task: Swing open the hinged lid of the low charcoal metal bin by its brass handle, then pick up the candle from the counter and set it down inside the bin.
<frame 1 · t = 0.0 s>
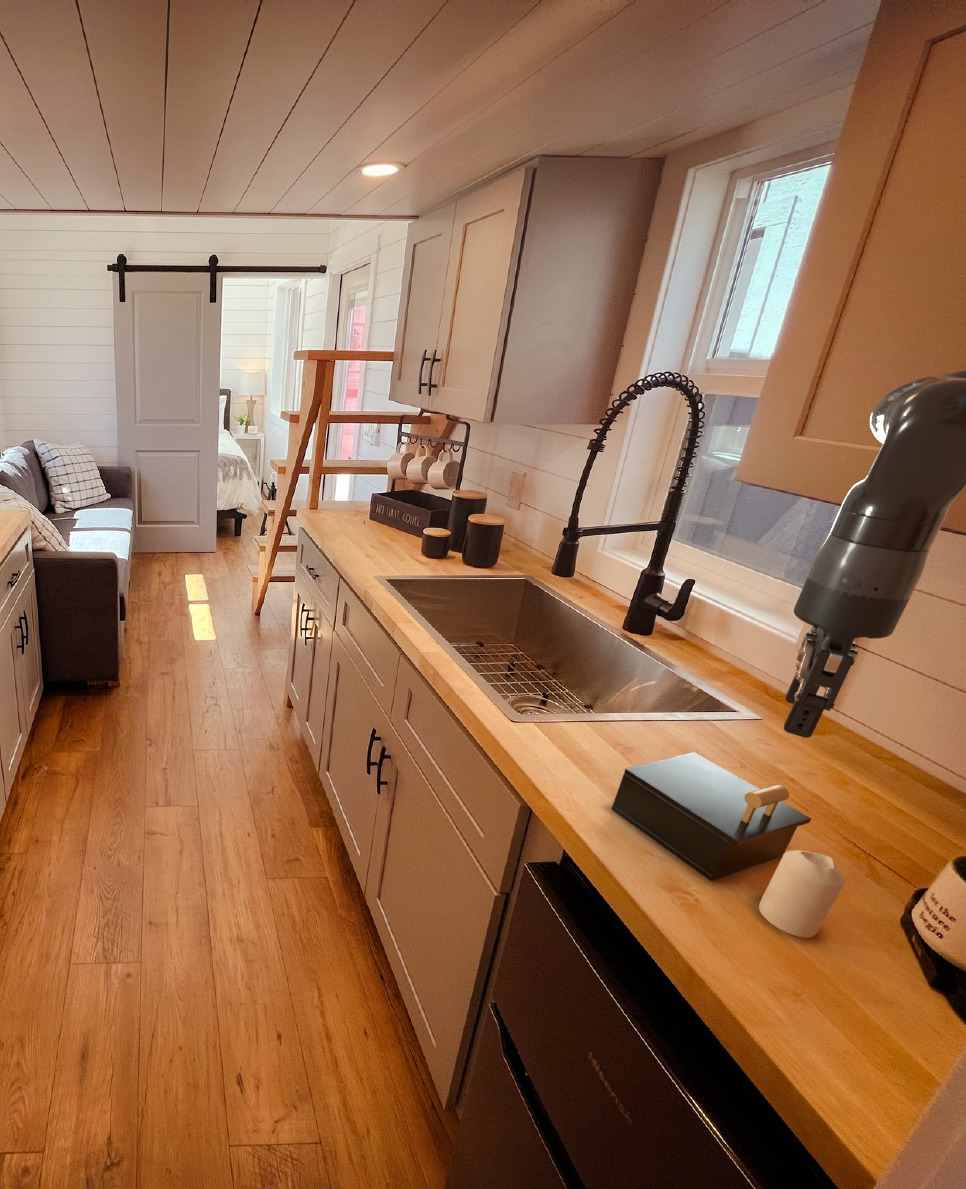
hand: (796, 718, 71), 28 cm above the table, tool pointing down, fingers open, 8 cm apart
candle: (785, 920, 80), on the table
bin lid: (718, 781, 90), point 10 cm above the table, hinge at 0.0°
bread bin: (692, 832, 94), on the table
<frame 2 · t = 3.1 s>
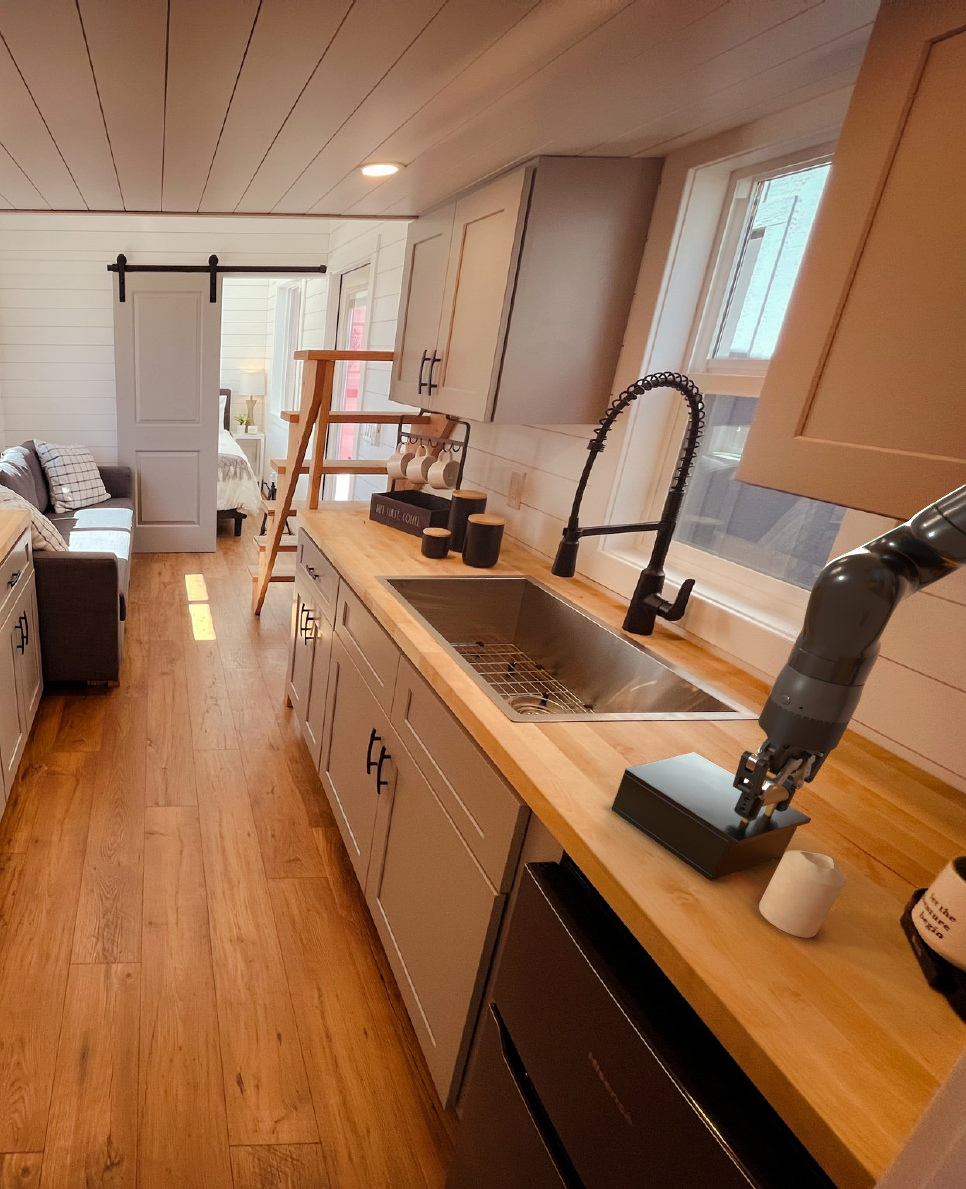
hand: (759, 811, 86), 9 cm above the table, tool pointing down, fingers closed on bin lid, 5 cm apart
bin lid: (718, 781, 90), point 10 cm above the table, hinge at -0.1°, touching gripper
everything else where it was.
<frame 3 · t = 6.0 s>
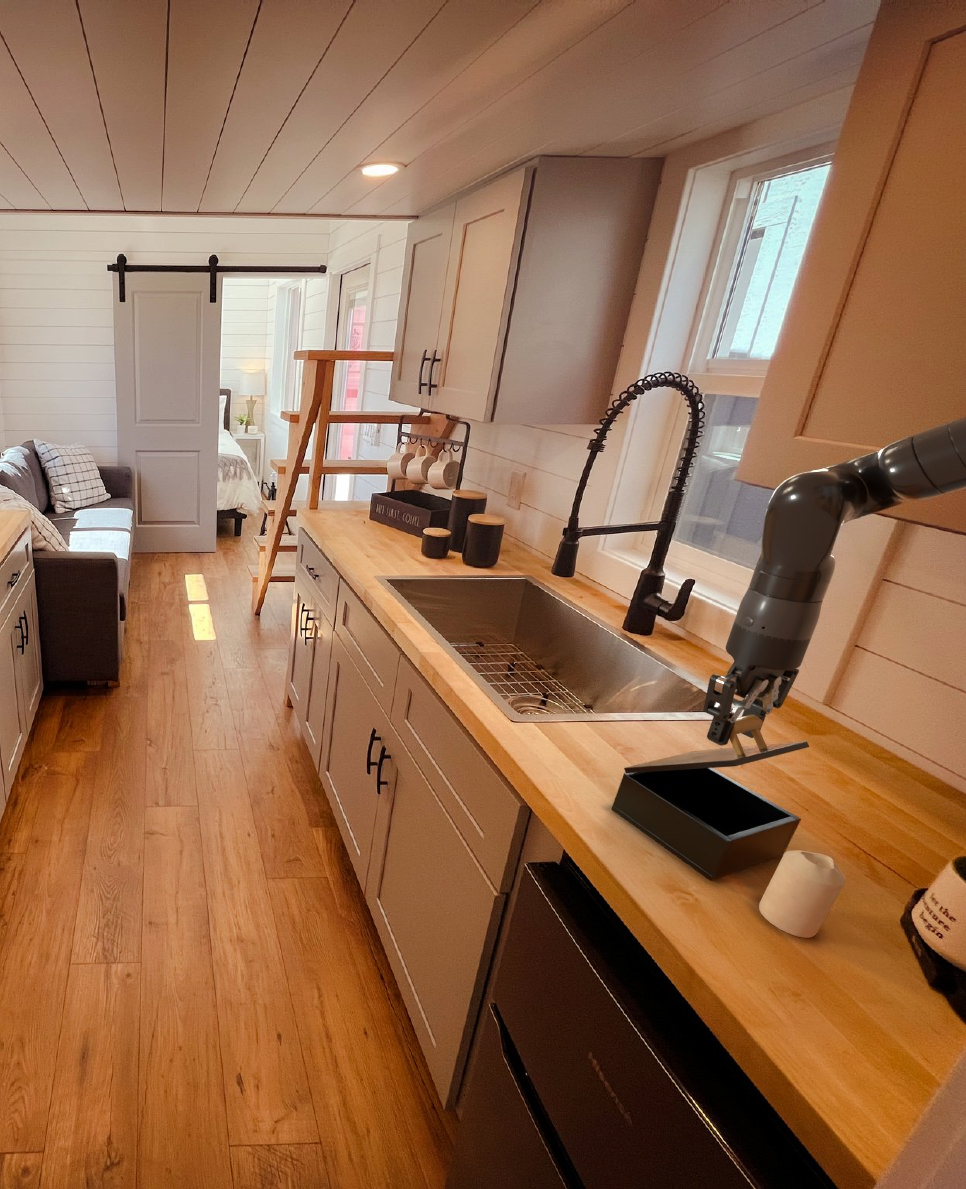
hand: (731, 738, 88), 16 cm above the table, tool pointing down, fingers closed on bin lid, 5 cm apart
bin lid: (705, 741, 91), point 14 cm above the table, hinge at 39.9°, touching gripper
everything else where it was.
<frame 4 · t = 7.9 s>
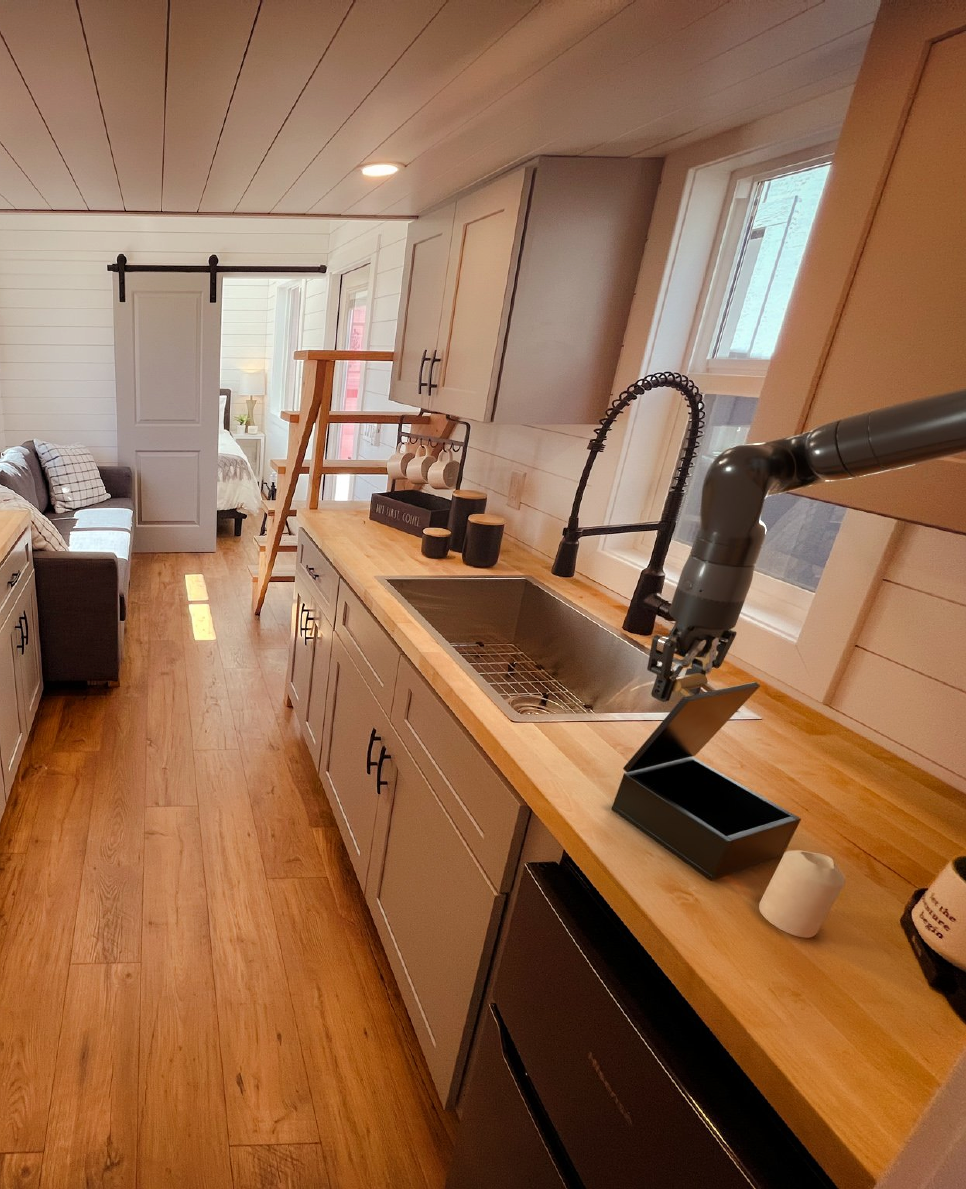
hand: (674, 695, 95), 18 cm above the table, tool pointing down, fingers closed on bin lid, 5 cm apart
bin lid: (675, 716, 95), point 15 cm above the table, hinge at 74.3°, touching gripper
everything else where it was.
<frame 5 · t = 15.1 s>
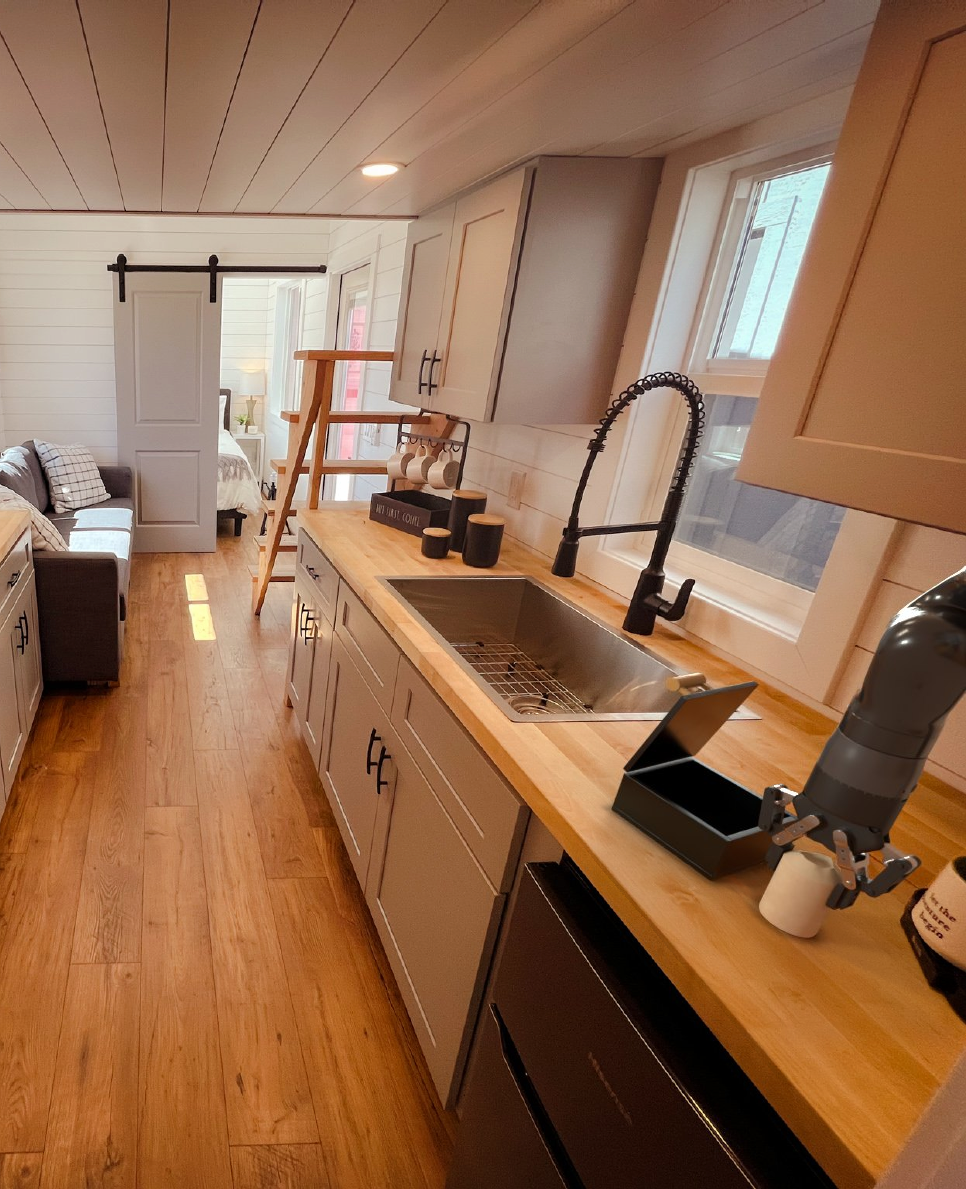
hand: (804, 886, 78), 6 cm above the table, tool pointing down, fingers closed on candle, 5 cm apart
candle: (786, 920, 80), on the table, touching gripper
bin lid: (675, 716, 95), point 15 cm above the table, hinge at 75.1°
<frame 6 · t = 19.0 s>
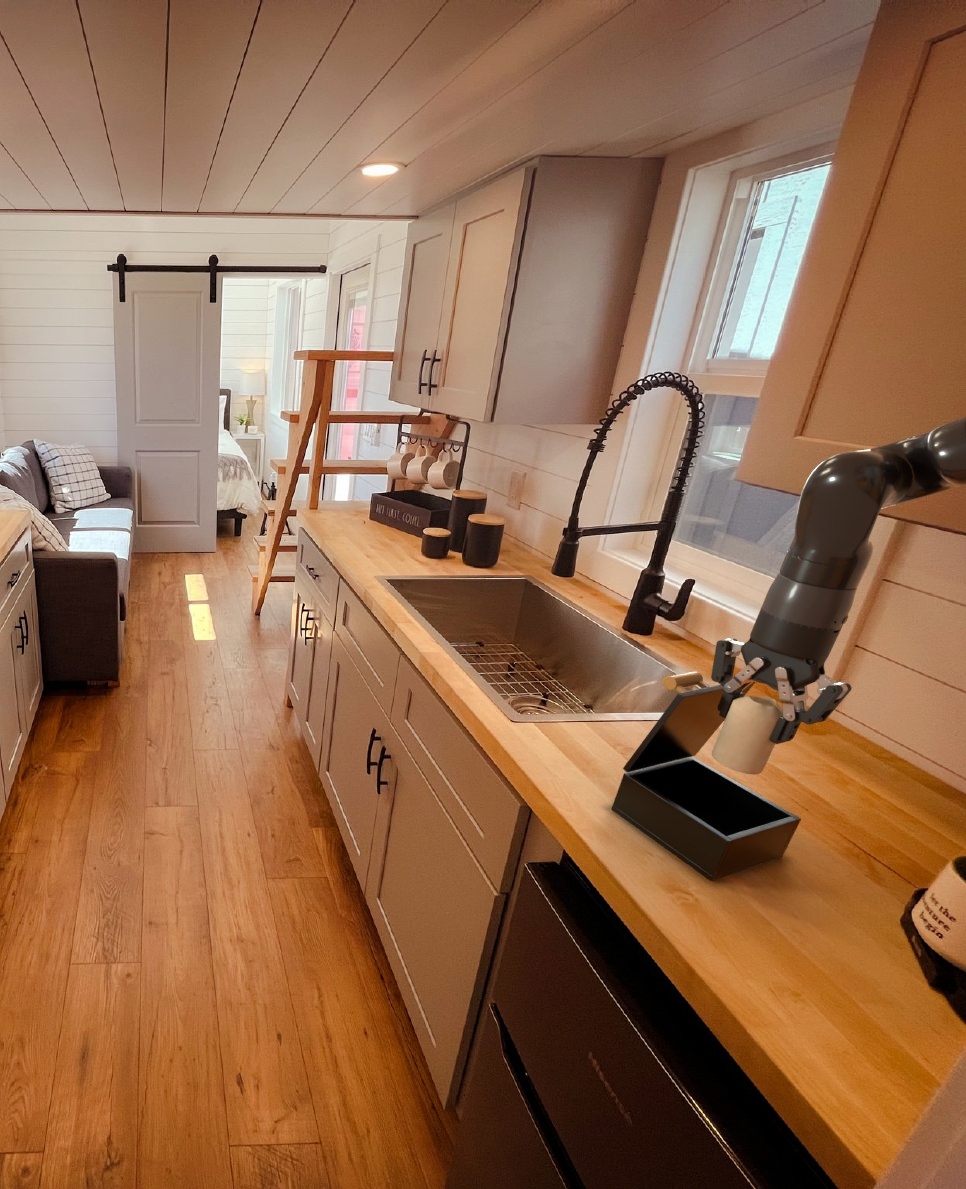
hand: (751, 728, 85), 19 cm above the table, tool pointing down, fingers closed on candle, 5 cm apart
candle: (735, 763, 88), point 14 cm above the table, touching gripper
bin lid: (673, 715, 95), point 15 cm above the table, hinge at 77.1°
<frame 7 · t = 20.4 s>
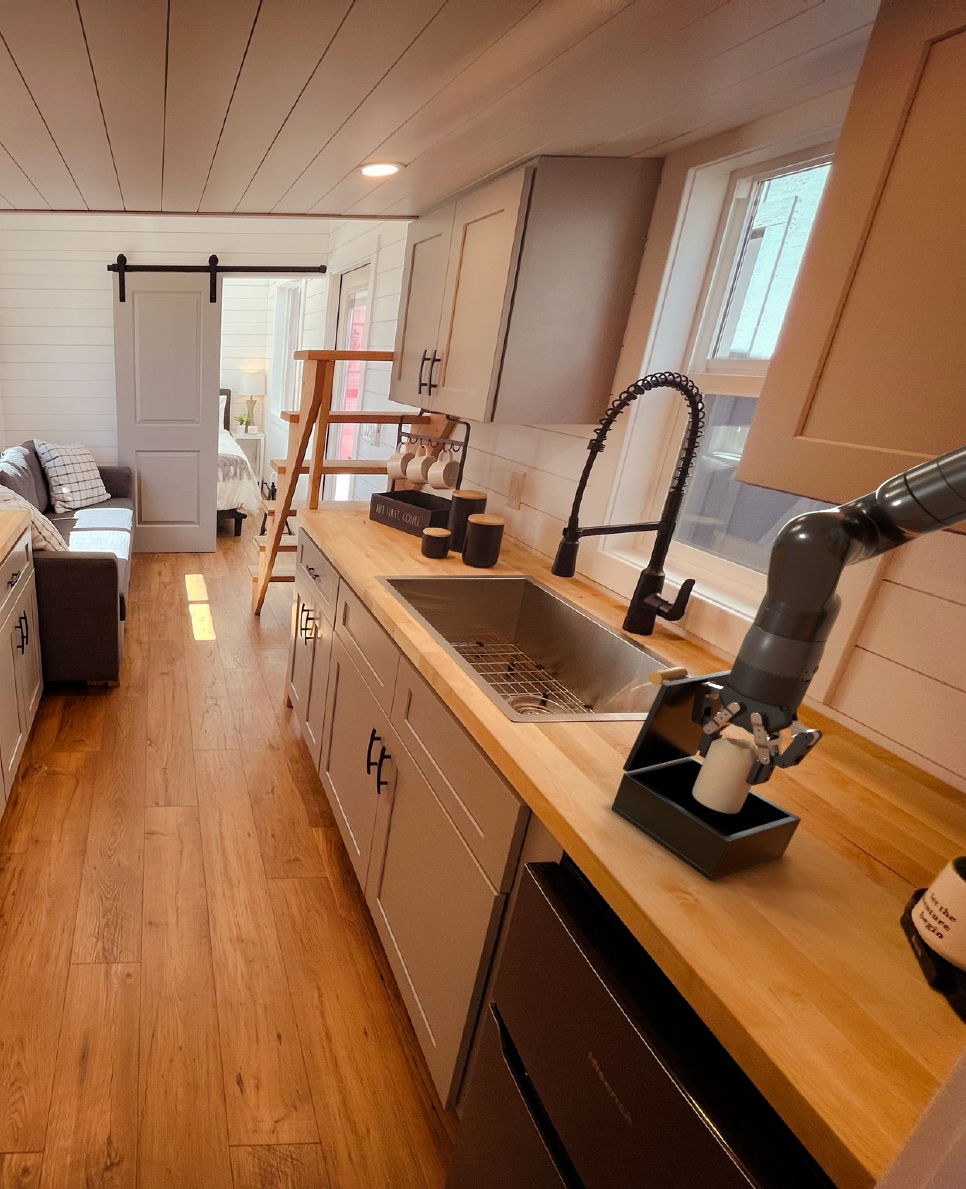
hand: (729, 769, 89), 12 cm above the table, tool pointing down, fingers closed on candle, 5 cm apart
candle: (715, 802, 91), point 6 cm above the table, touching gripper
bin lid: (664, 712, 96), point 15 cm above the table, hinge at 85.6°
when the fingers open (6 cm above the table, at t = 22.3 s): candle stays where it is, resting on bread bin.
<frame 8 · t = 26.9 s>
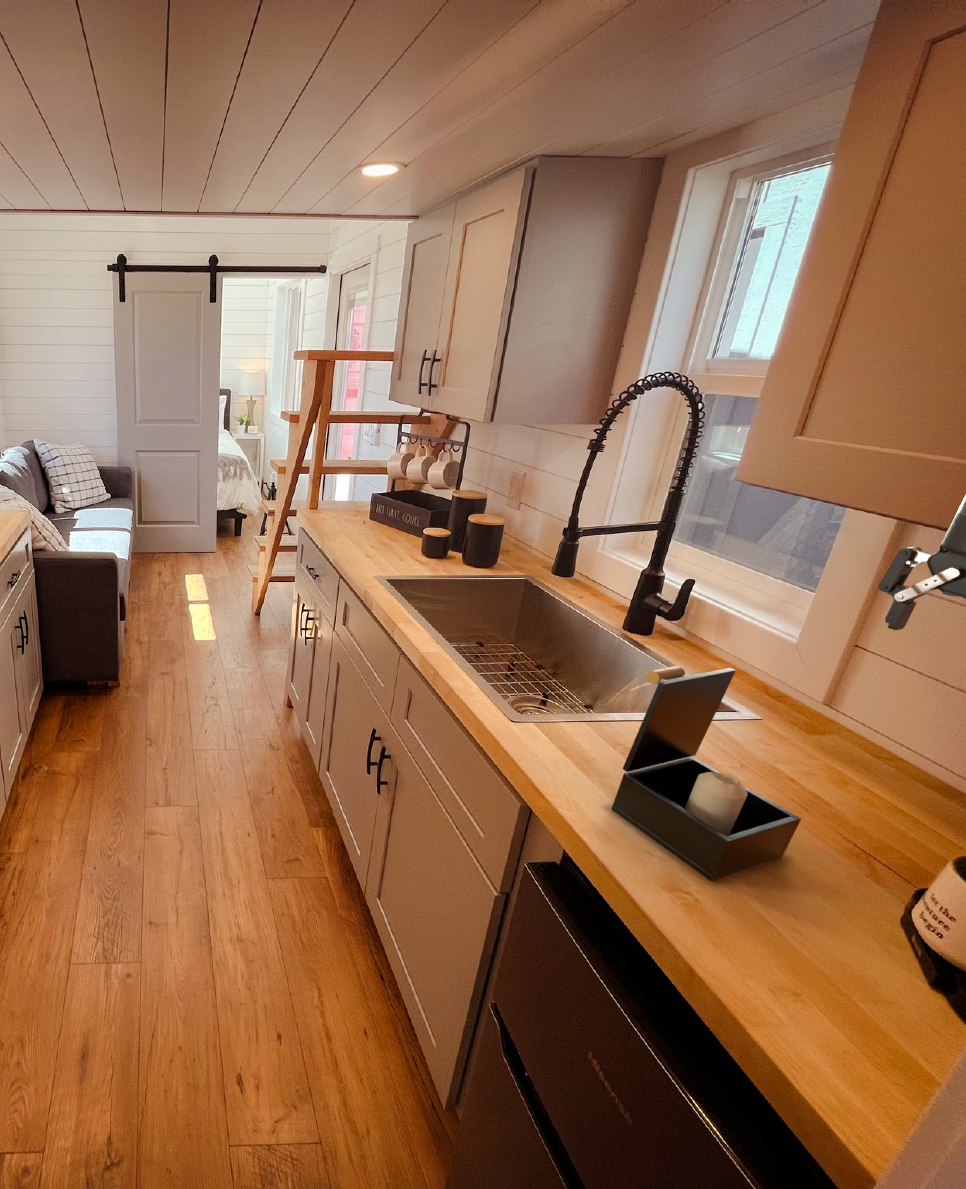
hand: (940, 643, 79), 33 cm above the table, tool pointing down, fingers open, 8 cm apart
candle: (701, 834, 93), point 1 cm above the table, touching bread bin
bin lid: (663, 711, 97), point 15 cm above the table, hinge at 87.2°
at the end: bin lid at +87° (first picture: +0°); candle inside the target area in the bread bin (1.1 cm from its centre), point 0.6 cm above the bread bin's base; candle tilted 0° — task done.
